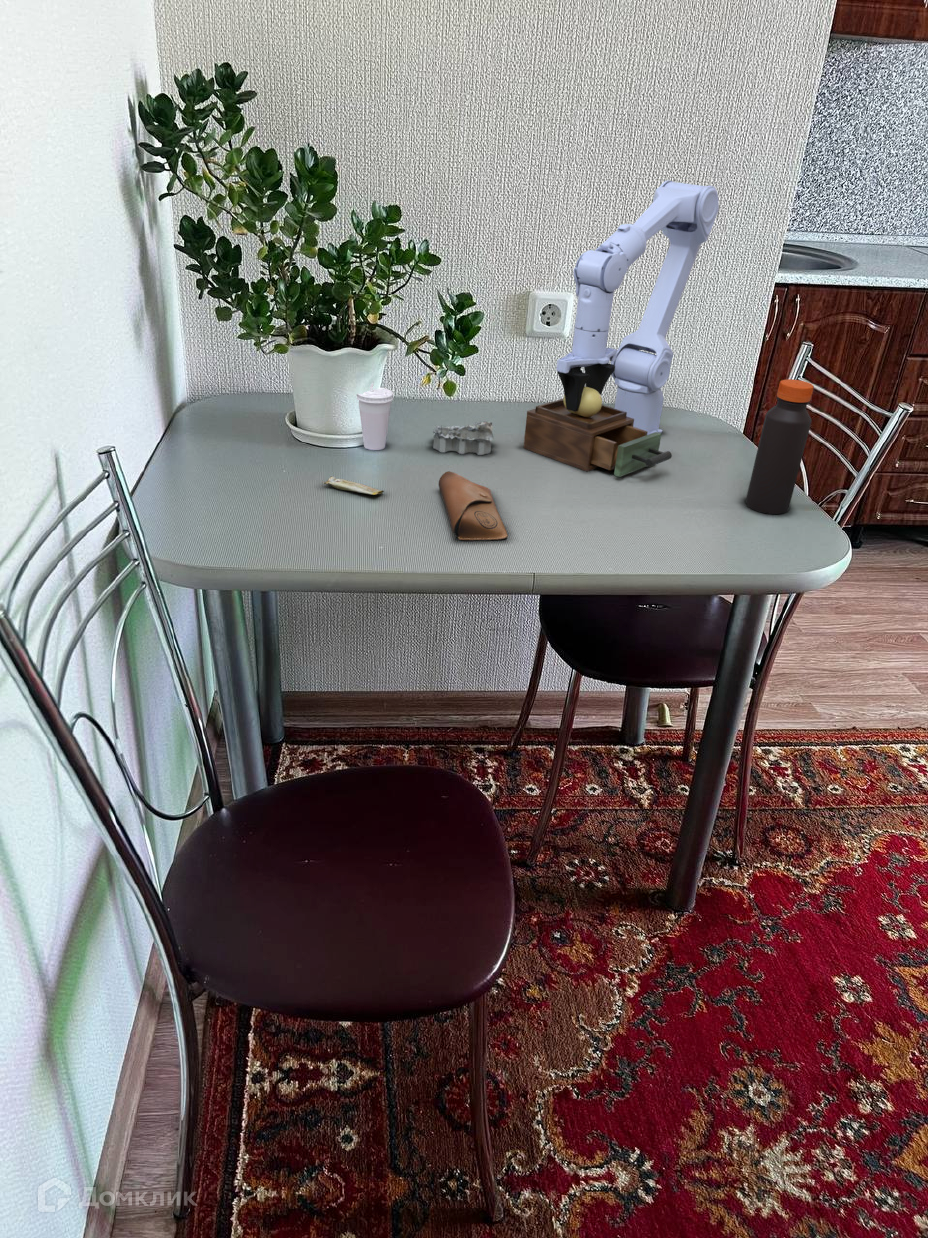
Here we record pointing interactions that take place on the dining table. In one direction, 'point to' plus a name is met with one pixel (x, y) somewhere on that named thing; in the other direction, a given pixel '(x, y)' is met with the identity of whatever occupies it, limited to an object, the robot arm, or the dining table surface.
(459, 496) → the sunglasses case
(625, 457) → the drawer
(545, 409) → the brown wooden tray
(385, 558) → the dining table surface
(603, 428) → the cabinet
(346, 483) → the snack bar
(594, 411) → the pale yellow lobed ovoid
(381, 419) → the smoothie
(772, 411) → the bottle
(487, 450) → the egg carton
